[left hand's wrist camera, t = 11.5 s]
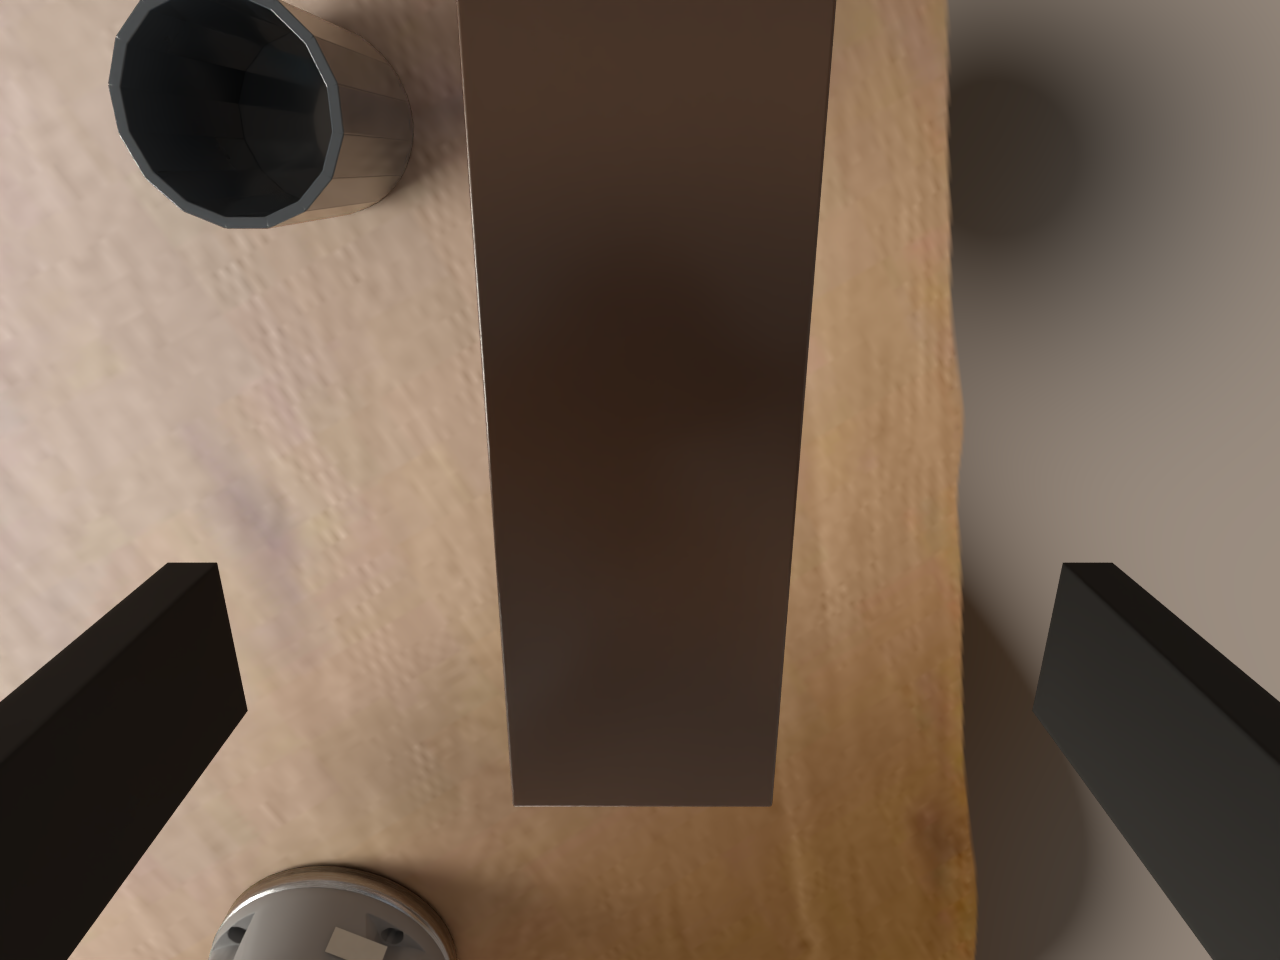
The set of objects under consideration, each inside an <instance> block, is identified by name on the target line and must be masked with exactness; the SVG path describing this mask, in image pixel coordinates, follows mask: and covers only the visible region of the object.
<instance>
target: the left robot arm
mask: <svg viewBox="0 0 1280 960" xmlns="http://www.w3.org/2000/svg"><path fill="white" fill-rule="evenodd" d="M247 711H248V710H247V705H246V700H245V696H244V691H243V686H242V681H241V676H240V671H239V667H238V662H237V657H236V652H235V647H234V642H233V638H232V633H231V628H230V623H229V618H228V613H227V608H226V604H225V599H224V594H223V589H222V584H221V579H220V575H219V570H218V565H217V563H167V564H166V565H164V566H163V567H162V568H161V569H160V570H158V571H157V572H156V573H155V574H154V575H152V576H151V577H150V578H149V579H148V580H146V581H145V582H144V583H143V584H142V585H140V586H139V587H138V588H137V589H136V590H134V591H133V592H132V593H131V594H130V595H128V596H127V597H126V598H125V599H124V600H122V601H121V602H120V603H119V604H118V605H116V606H115V607H114V608H113V609H112V610H110V611H109V612H108V613H107V614H105V615H104V616H103V617H102V618H101V619H99V620H98V621H97V622H96V623H95V624H93V625H92V626H91V627H90V628H89V629H87V630H86V631H85V632H84V633H83V634H81V635H80V636H79V637H78V638H77V639H75V640H74V641H73V642H72V643H71V644H69V645H68V646H67V647H66V648H65V649H63V650H62V651H61V652H60V653H59V654H57V655H56V656H55V657H54V658H53V659H51V660H50V661H49V662H48V663H47V664H45V665H44V666H43V667H42V668H41V669H39V670H38V671H37V672H36V673H35V674H33V675H32V676H31V677H30V678H29V679H27V680H26V681H25V682H24V683H23V684H21V685H20V686H19V687H18V688H17V689H15V690H14V691H13V692H12V693H11V694H9V695H8V696H7V697H6V698H5V699H3V700H2V701H1V702H0V960H67V959H68V958H69V956H70V955H71V954H72V952H73V951H74V949H75V948H76V947H77V945H78V944H79V943H80V941H81V940H82V938H83V937H84V936H85V934H86V933H87V932H88V930H89V929H90V927H91V926H92V925H93V923H94V922H95V921H96V919H97V918H98V916H99V915H100V914H101V912H102V911H103V909H104V908H105V907H106V905H107V904H108V903H109V901H110V900H111V898H112V897H113V896H114V894H115V893H116V892H117V890H118V889H119V887H120V886H121V885H122V883H123V882H124V881H125V879H126V878H127V876H128V875H129V874H130V872H131V871H132V870H133V868H134V867H135V865H136V864H137V863H138V861H139V860H140V858H141V857H142V856H143V854H144V853H145V852H146V850H147V849H148V847H149V846H150V845H151V843H152V842H153V841H154V839H155V838H156V836H157V835H158V834H159V832H160V831H161V830H162V828H163V827H164V825H165V824H166V823H167V821H168V820H169V818H170V817H171V816H172V814H173V813H174V812H175V810H176V809H177V807H178V806H179V805H180V803H181V802H182V801H183V799H184V798H185V796H186V795H187V794H188V792H189V791H190V790H191V788H192V787H193V785H194V784H195V783H196V781H197V780H198V778H199V777H200V776H201V774H202V773H203V772H204V770H205V769H206V767H207V766H208V765H209V763H210V762H211V761H212V759H213V758H214V756H215V755H216V754H217V752H218V751H219V750H220V748H221V747H222V745H223V744H224V743H225V741H226V740H227V739H228V737H229V736H230V734H231V733H232V732H233V730H234V729H235V727H236V726H237V725H238V723H239V722H240V721H241V719H242V718H243V716H244V715H245V714H246V712H247ZM1032 711H1033V712H1034V714H1035V715H1036V716H1037V718H1038V719H1039V721H1040V722H1041V723H1042V725H1043V726H1044V727H1045V729H1046V730H1047V732H1048V733H1049V734H1050V736H1051V737H1052V739H1053V740H1054V741H1055V743H1056V744H1057V745H1058V747H1059V748H1060V750H1061V751H1062V752H1063V754H1064V755H1065V756H1066V758H1067V759H1068V761H1069V762H1070V763H1071V765H1072V766H1073V767H1074V769H1075V770H1076V772H1077V773H1078V774H1079V776H1080V777H1081V778H1082V780H1083V781H1084V783H1085V784H1086V785H1087V787H1088V788H1089V790H1090V791H1091V792H1092V794H1093V795H1094V796H1095V798H1096V799H1097V801H1098V802H1099V803H1100V805H1101V806H1102V807H1103V809H1104V810H1105V811H1106V813H1107V814H1108V816H1109V817H1110V818H1111V820H1112V821H1113V823H1114V824H1115V825H1116V827H1117V828H1118V829H1119V831H1120V832H1121V834H1122V835H1123V836H1124V838H1125V839H1126V841H1127V842H1128V843H1129V845H1130V846H1131V847H1132V849H1133V850H1134V852H1135V853H1136V854H1137V856H1138V857H1139V858H1140V860H1141V861H1142V863H1143V864H1144V865H1145V867H1146V868H1147V870H1148V871H1149V872H1150V874H1151V875H1152V876H1153V878H1154V879H1155V881H1156V882H1157V883H1158V885H1159V886H1160V887H1161V889H1162V890H1163V892H1164V893H1165V894H1166V896H1167V897H1168V898H1169V900H1170V901H1171V903H1172V904H1173V905H1174V907H1175V908H1176V910H1177V911H1178V912H1179V914H1180V915H1181V916H1182V918H1183V919H1184V921H1185V922H1186V923H1187V925H1188V926H1189V927H1190V929H1191V930H1192V931H1193V933H1194V934H1195V936H1196V937H1197V938H1198V940H1199V941H1200V943H1201V944H1202V945H1203V947H1204V948H1205V949H1206V951H1207V952H1208V954H1209V955H1210V956H1211V958H1212V959H1213V960H1280V702H1279V701H1278V700H1277V699H1275V698H1274V697H1273V696H1272V695H1271V694H1269V693H1268V692H1267V691H1266V690H1265V689H1263V688H1262V687H1261V686H1260V685H1259V684H1257V683H1256V682H1255V681H1254V680H1253V679H1251V678H1250V677H1249V676H1248V675H1247V674H1245V673H1244V672H1243V671H1242V670H1241V669H1239V668H1238V667H1237V666H1236V665H1235V664H1233V663H1232V662H1231V661H1230V660H1229V659H1227V658H1226V657H1225V656H1224V655H1223V654H1221V653H1220V652H1219V651H1218V650H1217V649H1215V648H1214V647H1213V646H1212V645H1211V644H1209V643H1208V642H1207V641H1206V640H1205V639H1203V638H1202V637H1201V636H1200V635H1199V634H1197V633H1196V632H1195V631H1194V630H1192V629H1191V628H1190V627H1189V626H1188V625H1186V624H1185V623H1184V622H1183V621H1182V620H1180V619H1179V618H1178V617H1177V616H1176V615H1175V614H1173V613H1172V612H1171V611H1170V610H1168V609H1167V608H1166V607H1165V606H1164V605H1162V604H1161V603H1160V602H1159V601H1158V600H1156V599H1155V598H1154V597H1153V596H1152V595H1150V594H1149V593H1148V592H1147V591H1146V590H1144V589H1143V588H1142V587H1141V586H1139V585H1138V584H1137V583H1136V582H1135V581H1134V580H1132V579H1131V578H1130V577H1129V576H1128V575H1126V574H1125V573H1124V572H1123V571H1122V570H1120V569H1119V568H1118V567H1117V566H1116V565H1114V564H1113V563H1063V565H1062V570H1061V575H1060V579H1059V584H1058V589H1057V594H1056V599H1055V604H1054V608H1053V613H1052V618H1051V623H1050V628H1049V633H1048V638H1047V642H1046V647H1045V652H1044V657H1043V662H1042V667H1041V672H1040V676H1039V681H1038V686H1037V691H1036V696H1035V701H1034V705H1033V710H1032ZM209 960H456V951H455V946H454V943H453V940H452V937H451V935H450V933H449V931H448V929H447V927H446V925H445V924H444V922H443V921H442V919H441V918H440V917H439V916H438V914H437V913H436V912H435V911H434V910H433V909H432V908H431V907H430V906H429V905H428V904H427V903H426V902H425V901H424V900H422V899H421V898H420V897H418V896H417V895H416V894H414V893H413V892H411V891H410V890H408V889H406V888H405V887H403V886H401V885H399V884H397V883H395V882H393V881H391V880H389V879H386V878H384V877H381V876H379V875H376V874H373V873H369V872H365V871H362V870H357V869H352V868H346V867H337V866H309V867H300V868H295V869H290V870H286V871H283V872H279V873H276V874H274V875H271V876H268V877H266V878H264V879H262V880H260V881H259V882H257V883H255V884H254V885H252V886H251V887H250V888H248V889H247V890H246V891H245V892H243V893H242V894H241V895H240V896H239V898H238V899H237V900H236V901H235V902H234V904H233V905H232V907H231V908H230V910H229V912H228V914H227V916H226V917H225V919H224V921H223V923H222V925H221V926H220V928H219V930H218V932H217V934H216V936H215V938H214V941H213V944H212V948H211V951H210V955H209Z"/></svg>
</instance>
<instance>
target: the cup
mask: <svg viewBox="0 0 1280 960" xmlns="http://www.w3.org/2000/svg"><path fill="white" fill-rule="evenodd" d="M108 84H109V91H110V95H111V100H112V105H113V109H114V114H115V119H116V123H117V128H118V133H119V135H120V137H121V139H122V140H123V142H124V144H125V145H126V147H127V149H128V150H129V152H130V154H131V155H132V157H133V159H134V160H135V162H136V164H137V165H138V167H139V169H140V171H141V172H142V174H143V176H144V177H145V178H146V179H147V180H148V181H149V182H150V183H151V184H152V185H153V186H155V187H156V188H157V189H158V190H159V191H160V192H161V193H163V194H164V195H165V196H166V197H167V198H168V199H169V200H171V201H172V202H173V203H174V204H175V205H176V206H177V207H179V208H180V209H181V210H182V211H184V212H186V213H188V214H191V215H193V216H196V217H198V218H201V219H203V220H206V221H208V222H211V223H213V224H216V225H218V226H221V227H223V228H227V229H269V228H274V227H280V226H286V225H292V224H298V223H303V222H309V221H315V220H321V219H326V218H332V217H338V216H344V215H349V214H352V213H354V212H357V211H360V210H362V209H365V208H368V207H370V206H372V205H374V204H375V203H377V202H379V201H380V200H381V199H383V198H384V197H385V196H386V195H387V194H388V193H389V192H390V191H391V190H392V189H393V188H394V187H395V186H396V184H397V183H398V181H399V180H400V179H401V177H402V175H403V173H404V171H405V169H406V167H407V164H408V161H409V158H410V154H411V149H412V142H413V120H412V114H411V108H410V105H409V101H408V97H407V95H406V92H405V90H404V87H403V85H402V83H401V81H400V79H399V77H398V76H397V74H396V72H395V71H394V69H393V68H392V66H391V65H390V64H389V62H388V61H387V60H386V59H385V58H384V57H383V55H382V54H381V53H380V52H379V51H378V50H377V49H375V48H374V47H373V46H372V45H371V44H370V43H368V42H367V41H366V40H365V39H364V38H363V37H361V36H360V35H357V34H355V33H353V32H351V31H348V30H346V29H344V28H342V27H339V26H337V25H335V24H333V23H331V22H328V21H326V20H324V19H322V18H319V17H317V16H315V15H313V14H310V13H308V12H306V11H304V10H301V9H299V8H297V7H295V6H293V5H290V4H288V3H286V2H284V1H281V0H140V1H139V3H138V4H137V6H136V7H135V9H134V10H133V12H132V13H131V15H130V16H129V17H128V19H127V20H126V22H125V23H124V25H123V26H122V28H121V29H120V31H119V32H118V34H117V35H116V38H115V44H114V50H113V57H112V63H111V69H110V76H109V82H108Z"/></svg>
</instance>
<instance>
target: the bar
mask: <svg viewBox="0 0 1280 960" xmlns="http://www.w3.org/2000/svg"><path fill="white" fill-rule="evenodd" d="M456 5H457V19H458V34H459V48H460V62H461V76H462V90H463V105H464V119H465V133H466V147H467V161H468V176H469V190H470V204H471V218H472V233H473V247H474V261H475V275H476V289H477V304H478V318H479V332H480V346H481V361H482V375H483V389H484V403H485V417H486V432H487V446H488V460H489V474H490V488H491V503H492V517H493V531H494V545H495V560H496V574H497V588H498V602H499V616H500V631H501V645H502V659H503V673H504V687H505V702H506V716H507V730H508V744H509V759H510V773H511V787H512V801H513V805H514V806H515V807H770V806H771V805H772V800H773V787H774V775H775V762H776V749H777V737H778V724H779V712H780V699H781V687H782V674H783V662H784V649H785V636H786V624H787V611H788V599H789V586H790V574H791V561H792V549H793V536H794V523H795V511H796V498H797V486H798V473H799V461H800V448H801V435H802V423H803V410H804V398H805V385H806V373H807V360H808V348H809V335H810V322H811V310H812V297H813V285H814V272H815V260H816V247H817V235H818V222H819V209H820V197H821V184H822V172H823V159H824V147H825V134H826V122H827V109H828V96H829V84H830V71H831V59H832V46H833V34H834V21H835V9H836V0H456Z"/></svg>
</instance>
